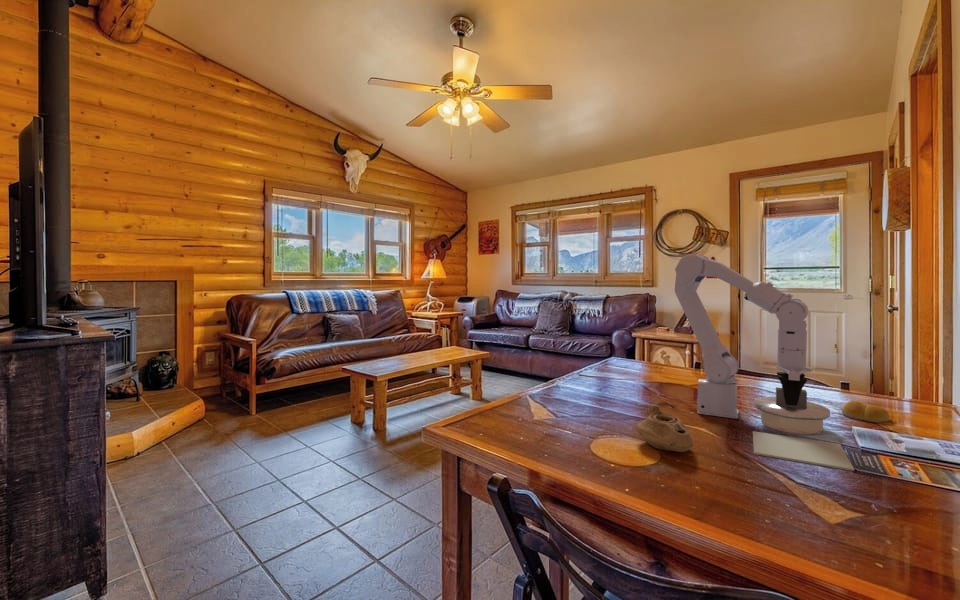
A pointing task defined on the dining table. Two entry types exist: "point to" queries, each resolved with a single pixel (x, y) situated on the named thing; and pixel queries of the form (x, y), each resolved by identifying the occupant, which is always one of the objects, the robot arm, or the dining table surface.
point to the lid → (792, 407)
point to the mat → (801, 450)
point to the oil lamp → (664, 431)
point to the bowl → (792, 424)
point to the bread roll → (865, 412)
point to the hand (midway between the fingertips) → (790, 403)
